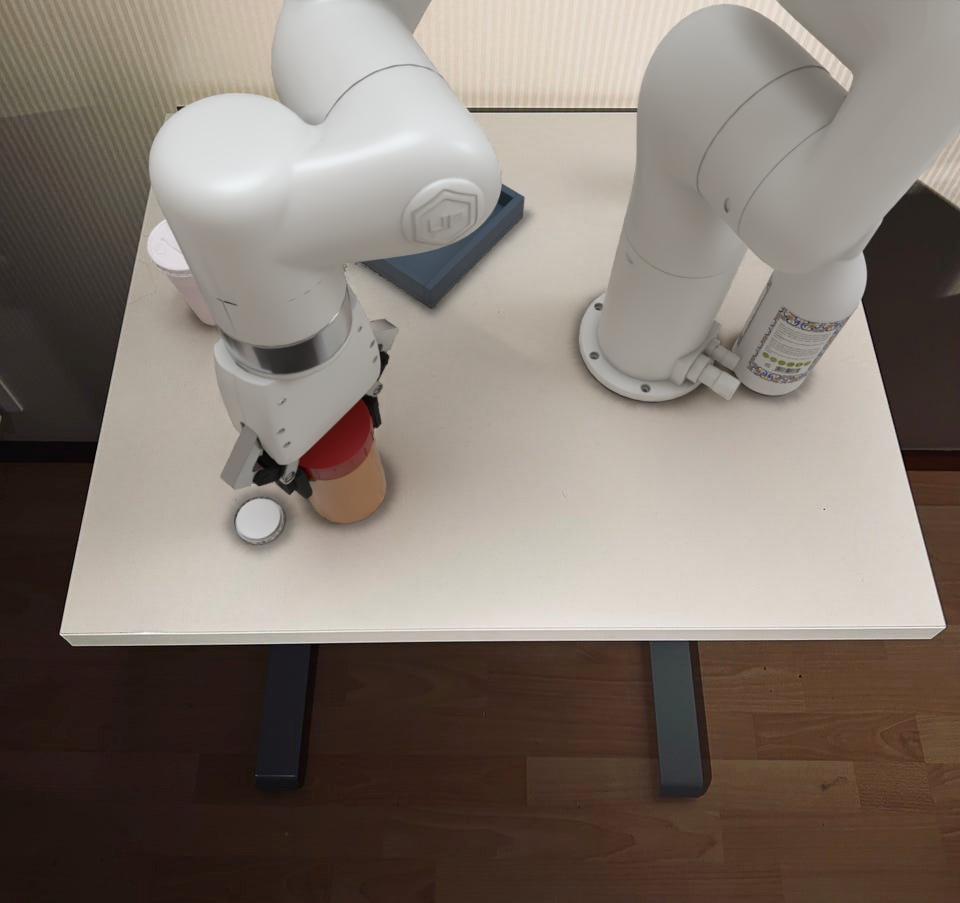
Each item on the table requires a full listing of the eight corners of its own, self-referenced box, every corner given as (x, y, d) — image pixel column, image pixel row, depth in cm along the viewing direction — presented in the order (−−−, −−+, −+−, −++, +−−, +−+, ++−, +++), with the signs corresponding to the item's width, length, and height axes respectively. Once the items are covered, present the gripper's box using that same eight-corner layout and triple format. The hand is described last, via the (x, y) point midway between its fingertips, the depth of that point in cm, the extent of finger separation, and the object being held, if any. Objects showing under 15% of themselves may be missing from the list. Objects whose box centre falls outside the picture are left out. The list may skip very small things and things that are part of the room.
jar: (402, 480, 68) (388, 422, 58) (350, 539, 66) (327, 488, 56) (345, 438, 70) (322, 375, 60) (292, 493, 67) (260, 437, 58)
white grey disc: (260, 553, 65) (259, 550, 64) (225, 525, 66) (223, 522, 65) (294, 516, 66) (293, 513, 66) (259, 490, 67) (257, 487, 67)
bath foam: (817, 390, 72) (932, 240, 54) (745, 404, 72) (837, 257, 54) (787, 328, 75) (887, 167, 57) (718, 341, 75) (797, 182, 57)
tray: (523, 216, 81) (524, 196, 78) (431, 308, 76) (430, 290, 73) (377, 129, 86) (375, 108, 84) (282, 210, 81) (276, 190, 78)
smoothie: (238, 343, 74) (191, 240, 61) (172, 331, 74) (112, 226, 62) (260, 288, 77) (219, 179, 64) (197, 277, 77) (144, 166, 65)
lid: (325, 380, 61) (321, 367, 59) (393, 430, 59) (390, 418, 58) (261, 444, 59) (254, 432, 57) (329, 498, 57) (324, 487, 55)
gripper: (340, 189, 49) (370, 350, 65) (119, 375, 43) (212, 503, 59) (434, 250, 47) (441, 401, 63) (215, 454, 41) (285, 564, 57)
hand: (330, 449), depth 61 cm, fingers closed on lid, 6 cm apart
